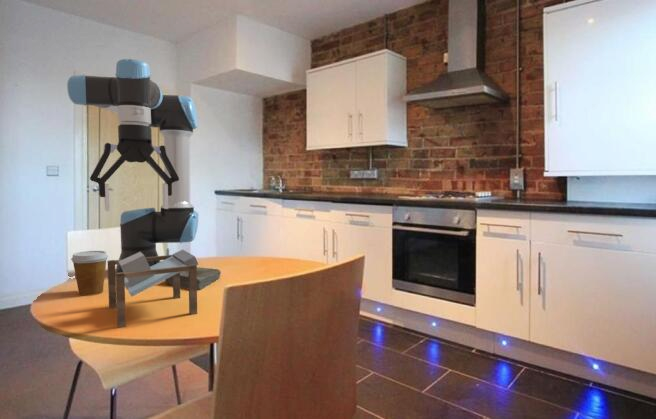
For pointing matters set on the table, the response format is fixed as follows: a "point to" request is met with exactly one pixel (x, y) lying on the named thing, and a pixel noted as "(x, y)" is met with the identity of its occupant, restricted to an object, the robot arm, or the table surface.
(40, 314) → the table surface
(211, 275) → the marble piece
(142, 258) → the granite block
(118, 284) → the walnut frame
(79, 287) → the disposable coffee cup
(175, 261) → the trapdoor
